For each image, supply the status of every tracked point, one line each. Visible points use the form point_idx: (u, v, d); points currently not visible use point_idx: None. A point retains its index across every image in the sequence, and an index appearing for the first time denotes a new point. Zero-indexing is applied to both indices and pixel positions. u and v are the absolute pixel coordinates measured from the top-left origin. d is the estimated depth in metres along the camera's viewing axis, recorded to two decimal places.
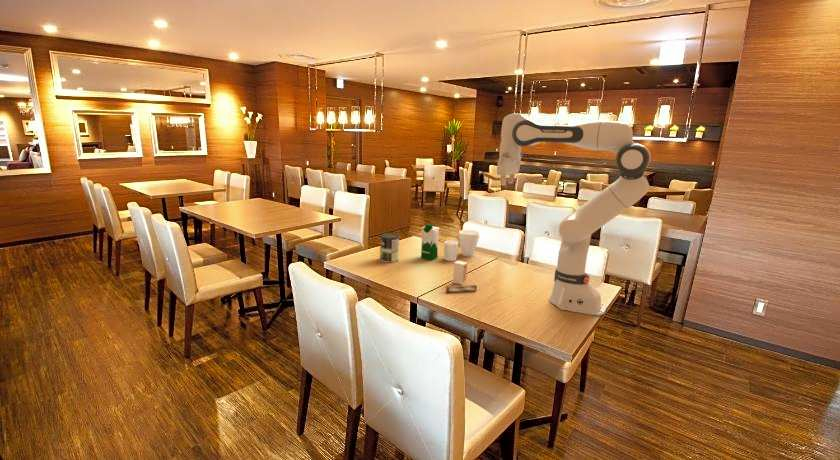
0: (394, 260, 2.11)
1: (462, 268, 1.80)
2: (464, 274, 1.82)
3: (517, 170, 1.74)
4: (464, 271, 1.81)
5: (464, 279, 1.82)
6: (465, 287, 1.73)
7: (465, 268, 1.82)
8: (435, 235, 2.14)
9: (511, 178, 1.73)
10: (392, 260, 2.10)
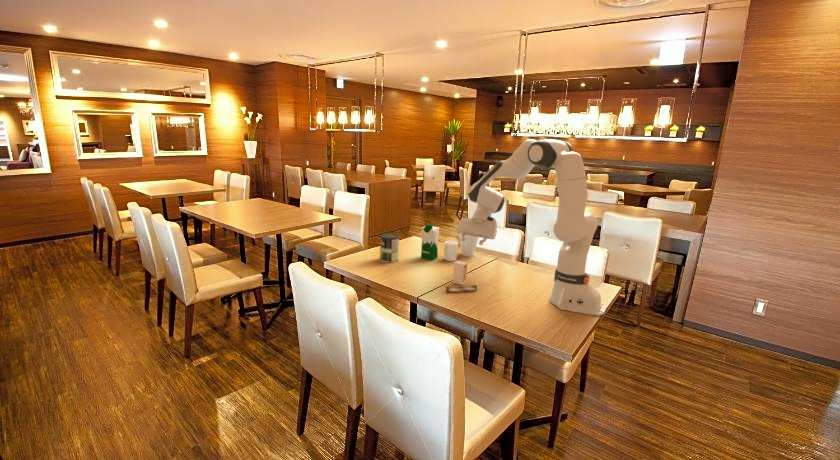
0: (394, 260, 2.11)
1: (462, 268, 1.80)
2: (464, 274, 1.82)
3: (488, 233, 1.88)
4: (464, 271, 1.81)
5: (464, 279, 1.82)
6: (465, 287, 1.73)
7: (465, 268, 1.82)
8: (435, 235, 2.14)
9: None
10: (392, 260, 2.10)
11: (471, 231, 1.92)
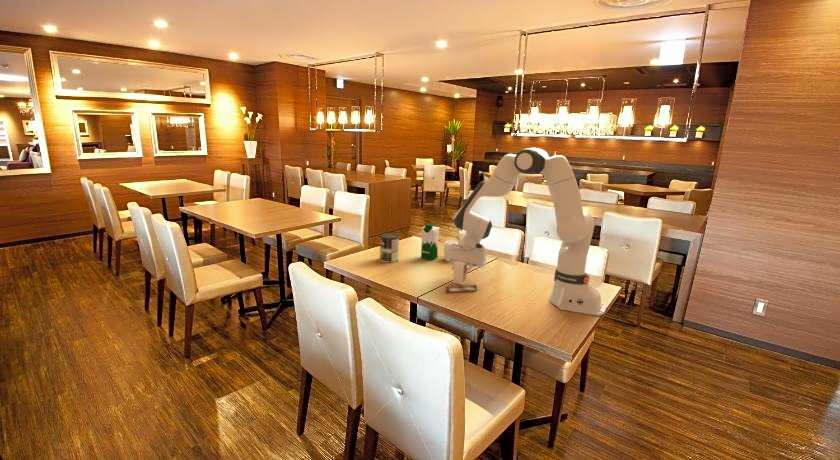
0: (394, 260, 2.11)
1: (462, 268, 1.80)
2: (464, 274, 1.82)
3: (477, 261, 1.80)
4: None
5: (464, 279, 1.82)
6: (465, 287, 1.73)
7: None
8: (435, 235, 2.14)
9: None
10: (392, 260, 2.10)
11: (459, 259, 1.84)
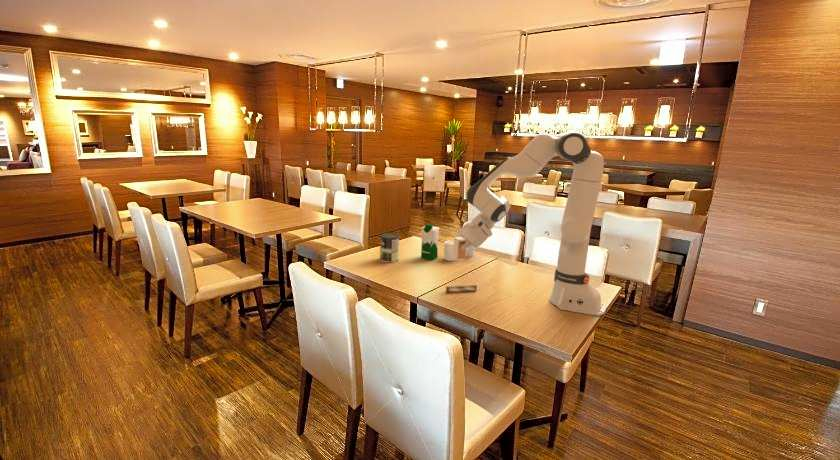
0: (394, 260, 2.11)
1: (457, 243, 1.71)
2: (460, 251, 1.72)
3: (471, 239, 1.66)
4: None
5: (461, 256, 1.72)
6: (465, 287, 1.73)
7: (462, 244, 1.71)
8: (435, 235, 2.14)
9: None
10: (392, 260, 2.10)
11: (463, 235, 1.75)
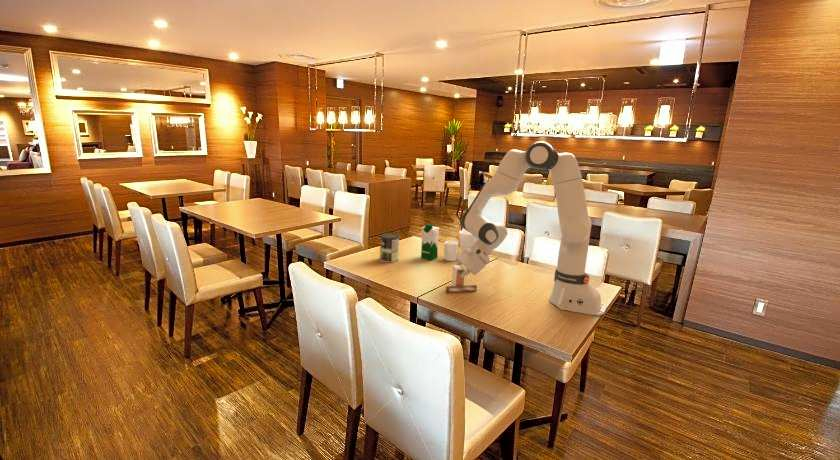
0: (394, 260, 2.11)
1: (456, 272, 1.74)
2: (458, 279, 1.75)
3: (469, 266, 1.69)
4: (458, 276, 1.74)
5: (459, 284, 1.75)
6: (465, 287, 1.73)
7: (460, 273, 1.74)
8: (435, 235, 2.14)
9: None
10: (392, 260, 2.10)
11: (461, 261, 1.78)
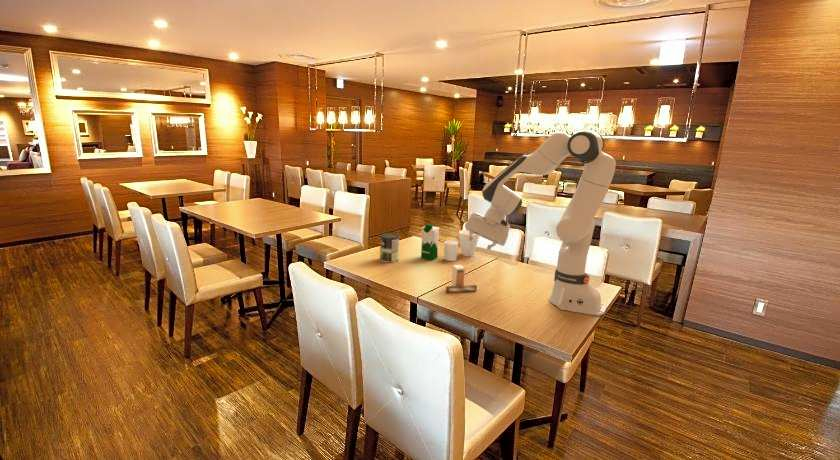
0: (394, 260, 2.11)
1: (456, 272, 1.74)
2: (458, 279, 1.75)
3: (499, 239, 1.72)
4: (458, 276, 1.74)
5: (459, 284, 1.75)
6: (465, 287, 1.73)
7: (460, 273, 1.74)
8: (435, 235, 2.14)
9: None
10: (392, 260, 2.10)
11: (481, 232, 1.75)
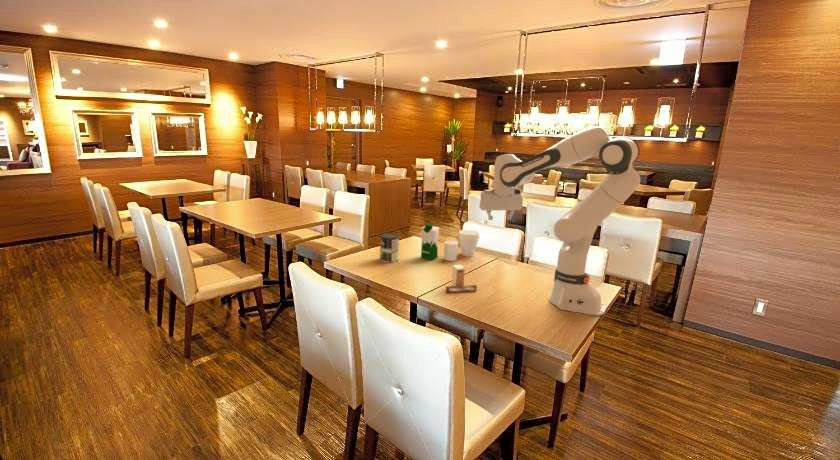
0: (394, 260, 2.11)
1: (456, 272, 1.74)
2: (458, 279, 1.75)
3: (517, 207, 1.77)
4: (458, 276, 1.74)
5: (459, 284, 1.75)
6: (465, 287, 1.73)
7: (460, 273, 1.74)
8: (435, 235, 2.14)
9: (510, 214, 1.79)
10: (392, 260, 2.10)
11: (499, 209, 1.75)
